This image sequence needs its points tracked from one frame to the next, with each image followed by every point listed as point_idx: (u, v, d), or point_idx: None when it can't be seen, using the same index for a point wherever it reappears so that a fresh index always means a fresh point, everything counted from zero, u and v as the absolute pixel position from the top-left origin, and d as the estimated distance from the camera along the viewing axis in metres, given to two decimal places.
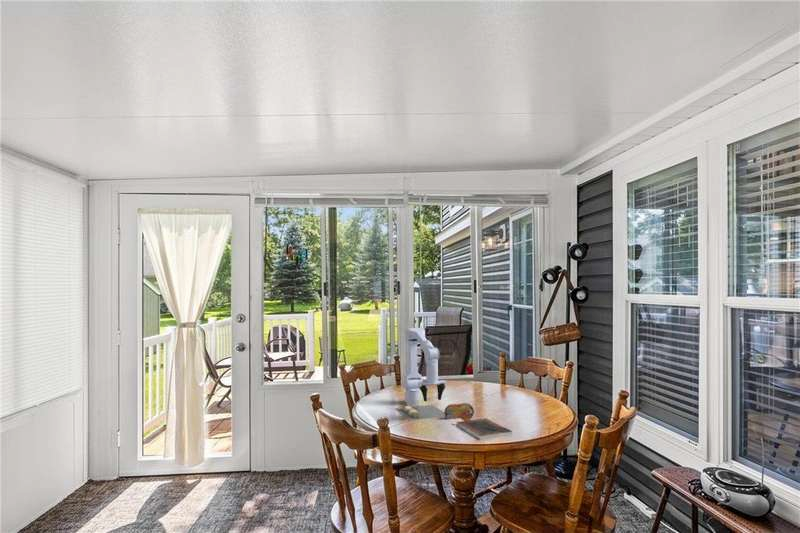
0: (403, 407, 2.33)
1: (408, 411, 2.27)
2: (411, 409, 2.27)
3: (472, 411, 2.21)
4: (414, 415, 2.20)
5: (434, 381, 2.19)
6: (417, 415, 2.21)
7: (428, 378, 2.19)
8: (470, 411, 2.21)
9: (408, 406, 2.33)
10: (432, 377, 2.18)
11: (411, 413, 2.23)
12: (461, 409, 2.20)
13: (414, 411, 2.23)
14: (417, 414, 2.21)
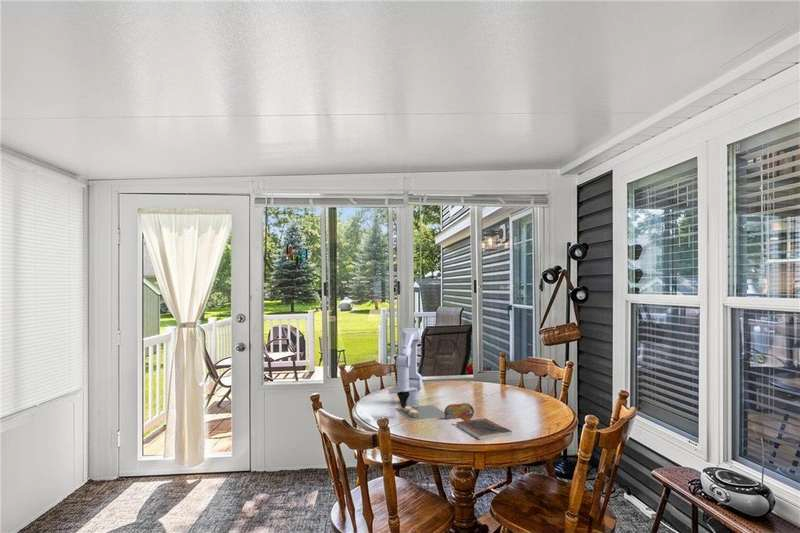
0: None
1: (408, 411, 2.27)
2: (411, 409, 2.27)
3: (472, 411, 2.21)
4: (414, 415, 2.20)
5: (405, 388, 2.19)
6: (417, 415, 2.21)
7: (399, 385, 2.20)
8: (470, 411, 2.21)
9: (408, 406, 2.33)
10: (403, 384, 2.19)
11: (411, 413, 2.23)
12: (461, 409, 2.20)
13: (414, 411, 2.23)
14: (417, 414, 2.21)
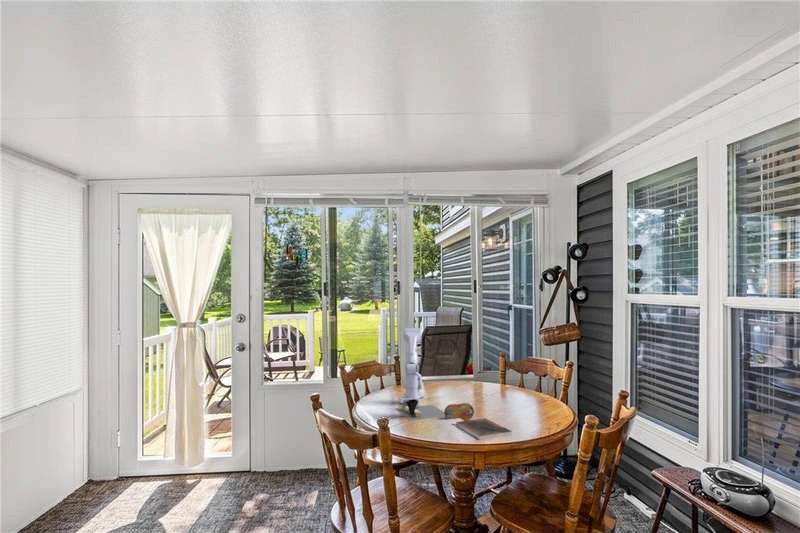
0: (403, 407, 2.33)
1: (409, 411, 2.27)
2: None
3: (472, 411, 2.21)
4: (417, 415, 2.21)
5: (415, 396, 2.21)
6: (419, 415, 2.21)
7: (409, 393, 2.21)
8: (470, 411, 2.21)
9: None
10: (413, 392, 2.20)
11: None
12: (461, 409, 2.20)
13: (416, 411, 2.24)
14: (419, 414, 2.21)
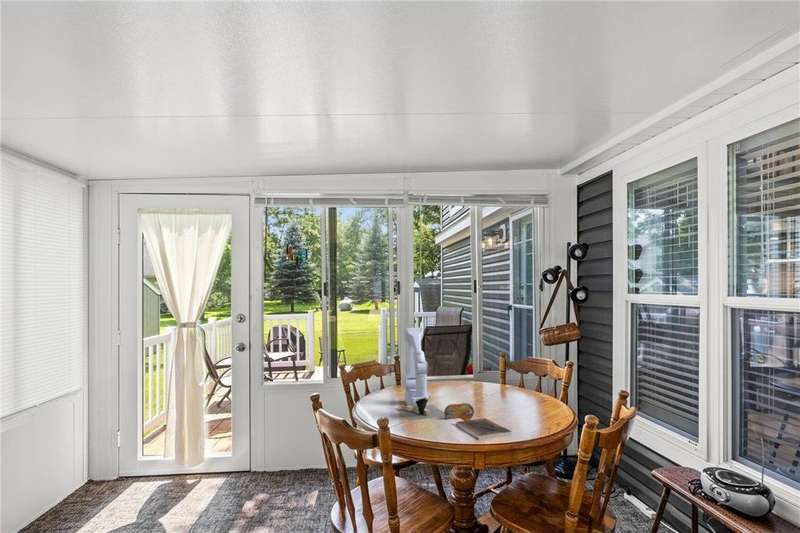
0: (405, 407, 2.33)
1: (415, 410, 2.28)
2: None
3: (472, 411, 2.21)
4: (427, 413, 2.24)
5: (425, 394, 2.23)
6: (429, 412, 2.25)
7: (420, 392, 2.22)
8: (470, 411, 2.21)
9: (410, 406, 2.33)
10: (424, 391, 2.23)
11: None
12: (461, 409, 2.20)
13: None
14: (429, 411, 2.25)
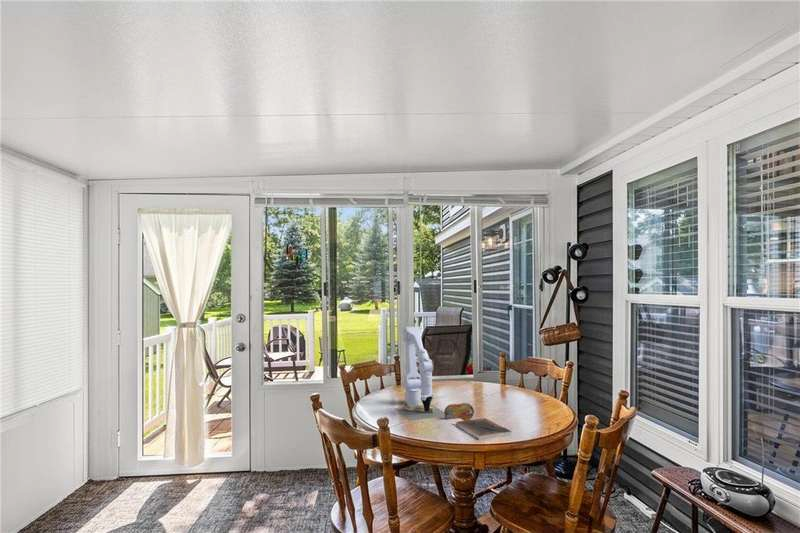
0: (406, 407, 2.33)
1: (419, 409, 2.31)
2: (421, 406, 2.32)
3: (472, 411, 2.21)
4: (432, 410, 2.29)
5: (431, 392, 2.28)
6: (433, 409, 2.30)
7: (427, 390, 2.26)
8: (470, 411, 2.21)
9: (410, 405, 2.34)
10: (431, 388, 2.28)
11: None
12: (461, 409, 2.20)
13: None
14: (433, 408, 2.31)
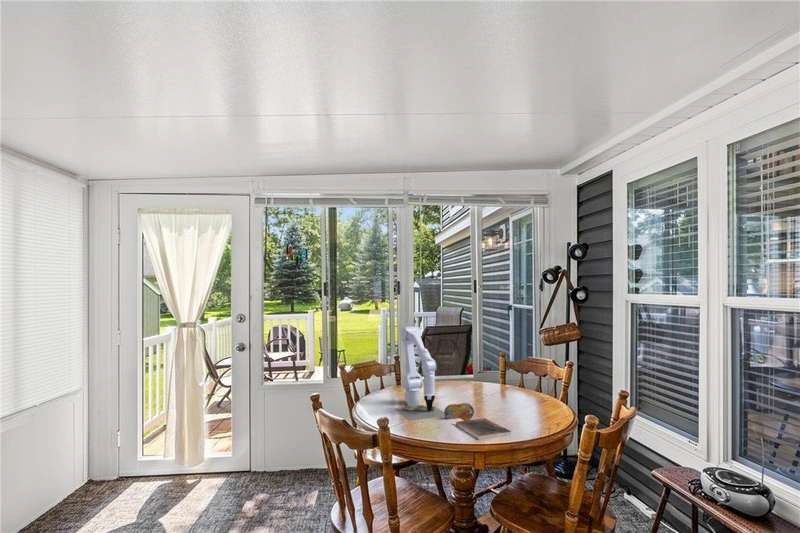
0: (407, 407, 2.33)
1: (420, 408, 2.33)
2: (421, 405, 2.34)
3: (472, 411, 2.21)
4: None
5: (434, 391, 2.31)
6: None
7: (431, 389, 2.29)
8: (470, 411, 2.21)
9: (410, 405, 2.35)
10: (434, 387, 2.30)
11: None
12: (461, 409, 2.20)
13: None
14: None
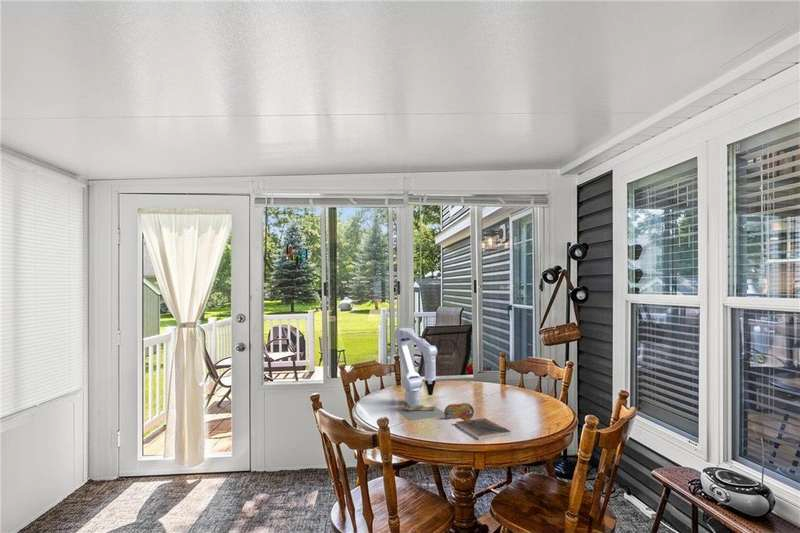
0: (407, 407, 2.33)
1: (420, 408, 2.33)
2: (421, 405, 2.34)
3: (472, 411, 2.21)
4: None
5: (435, 376, 2.34)
6: None
7: (432, 374, 2.32)
8: (470, 411, 2.21)
9: (410, 405, 2.35)
10: (435, 372, 2.34)
11: (428, 408, 2.32)
12: (461, 409, 2.20)
13: (429, 405, 2.34)
14: None
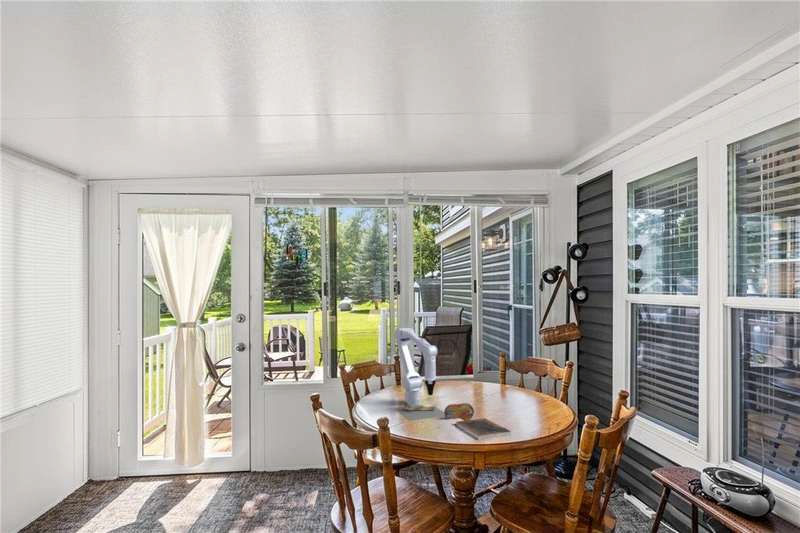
0: (407, 407, 2.33)
1: (420, 408, 2.33)
2: (421, 405, 2.34)
3: (472, 411, 2.21)
4: None
5: (435, 376, 2.34)
6: None
7: (432, 374, 2.32)
8: (470, 412, 2.21)
9: (410, 405, 2.35)
10: (435, 372, 2.34)
11: (428, 408, 2.32)
12: (461, 409, 2.20)
13: (429, 405, 2.34)
14: None
